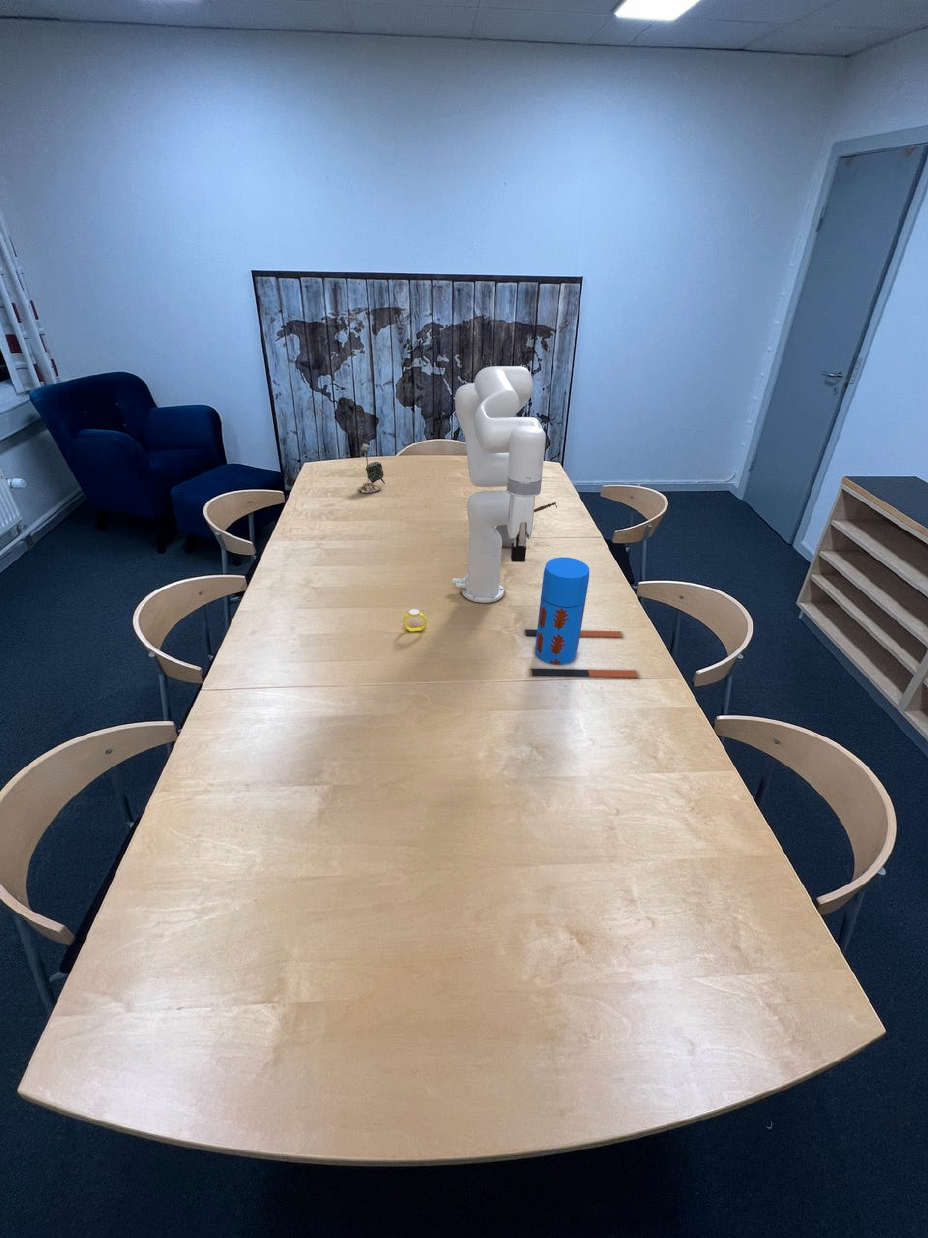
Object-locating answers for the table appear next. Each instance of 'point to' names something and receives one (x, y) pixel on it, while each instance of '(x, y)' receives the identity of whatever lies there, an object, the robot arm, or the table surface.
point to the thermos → (561, 610)
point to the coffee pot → (504, 529)
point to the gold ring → (414, 613)
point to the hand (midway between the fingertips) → (517, 559)
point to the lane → (585, 672)
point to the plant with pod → (371, 473)
